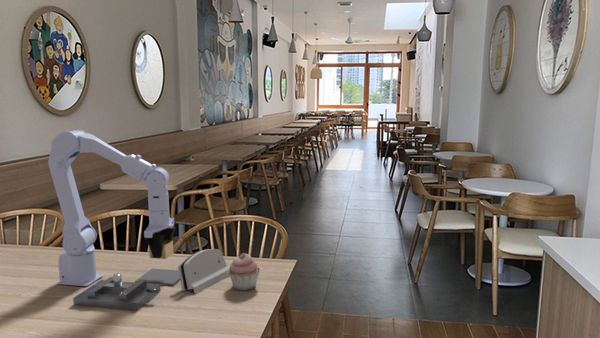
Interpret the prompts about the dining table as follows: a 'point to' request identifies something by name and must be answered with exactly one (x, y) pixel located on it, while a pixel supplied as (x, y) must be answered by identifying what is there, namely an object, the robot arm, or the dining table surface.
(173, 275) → the mat
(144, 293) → the vise
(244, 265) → the cupcake
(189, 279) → the hinge
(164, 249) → the collar
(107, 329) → the dining table surface
